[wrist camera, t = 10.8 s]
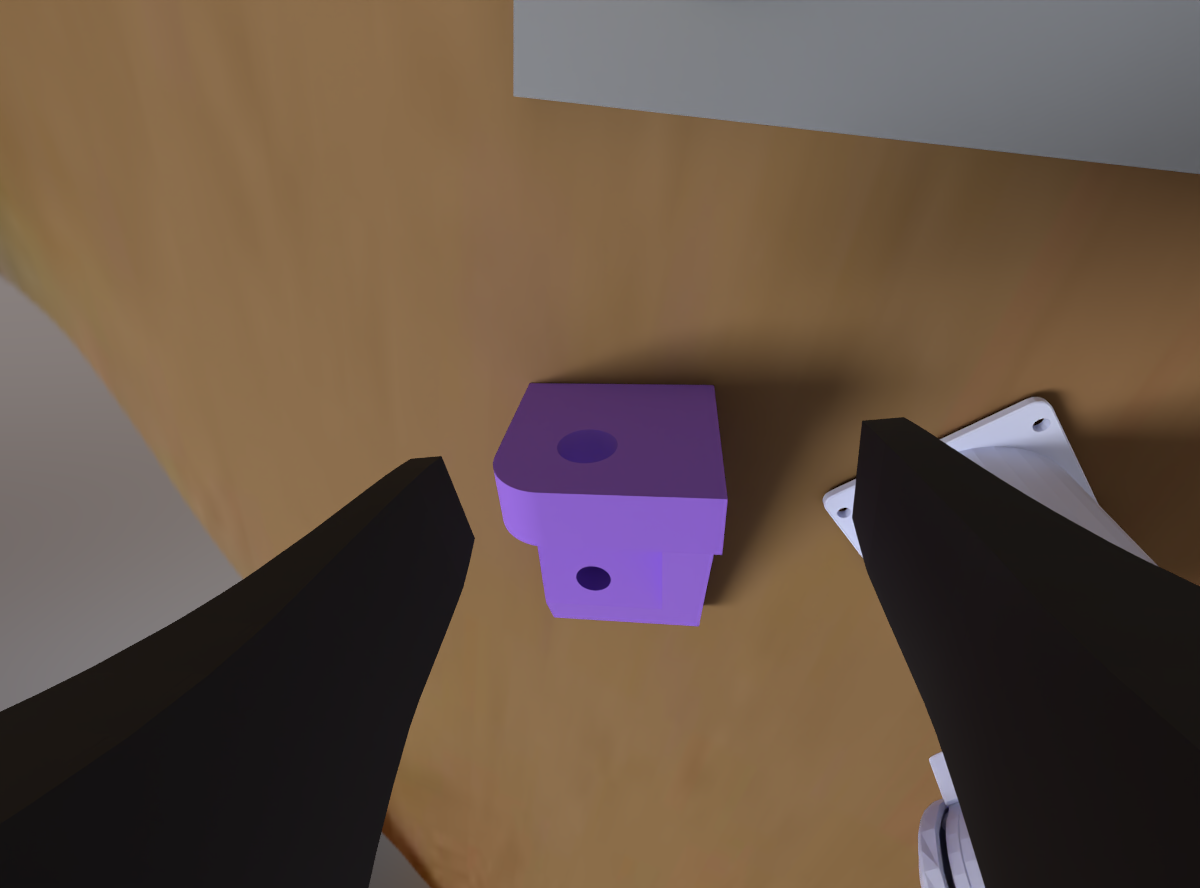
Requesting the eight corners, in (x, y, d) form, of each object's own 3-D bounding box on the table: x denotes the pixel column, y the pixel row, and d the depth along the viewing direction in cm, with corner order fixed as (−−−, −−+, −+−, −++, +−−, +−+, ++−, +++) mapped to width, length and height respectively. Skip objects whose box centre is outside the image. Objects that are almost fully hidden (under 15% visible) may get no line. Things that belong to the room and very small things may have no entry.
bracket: (531, 379, 21) (478, 490, 15) (713, 380, 20) (727, 499, 15) (559, 592, 28) (530, 725, 22) (697, 600, 27) (703, 740, 21)
